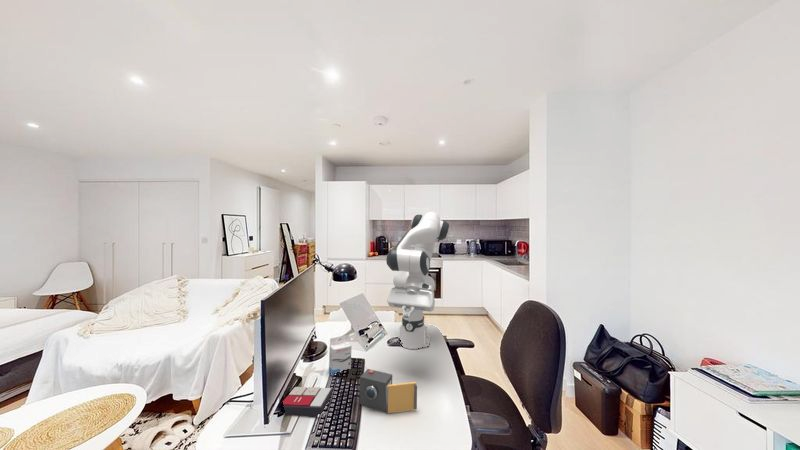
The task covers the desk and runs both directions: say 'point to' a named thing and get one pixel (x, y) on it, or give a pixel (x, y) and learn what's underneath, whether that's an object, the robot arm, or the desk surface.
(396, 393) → the side door
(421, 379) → the desk surface
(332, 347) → the ink box
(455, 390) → the desk surface
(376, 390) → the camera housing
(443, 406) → the desk surface
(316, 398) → the calculator
